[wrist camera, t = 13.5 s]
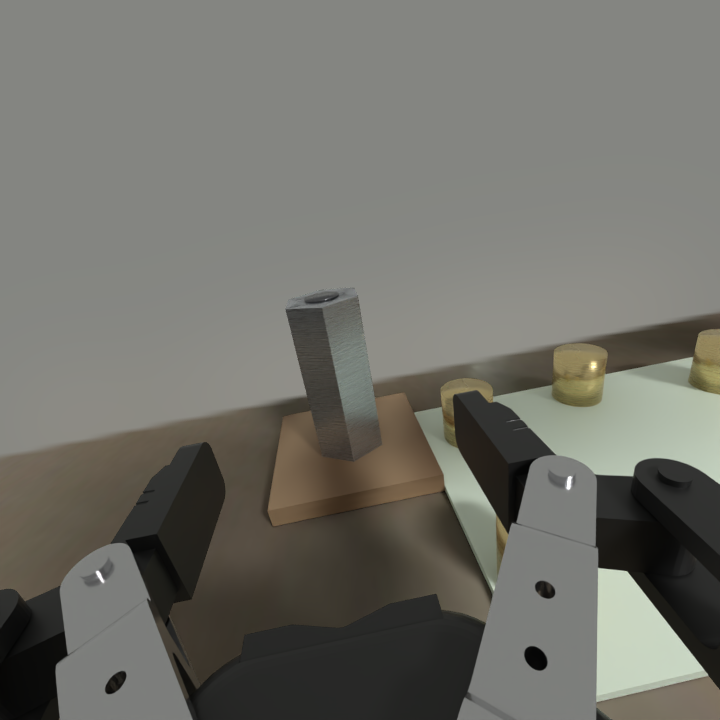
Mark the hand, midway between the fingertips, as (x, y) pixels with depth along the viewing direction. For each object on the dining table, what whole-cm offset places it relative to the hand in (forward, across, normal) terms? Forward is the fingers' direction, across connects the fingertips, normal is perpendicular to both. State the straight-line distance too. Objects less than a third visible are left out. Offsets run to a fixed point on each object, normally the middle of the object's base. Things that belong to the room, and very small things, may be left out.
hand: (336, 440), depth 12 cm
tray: (+11, 0, +9) cm, 14 cm away
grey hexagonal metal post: (+11, 0, +8) cm, 13 cm away
